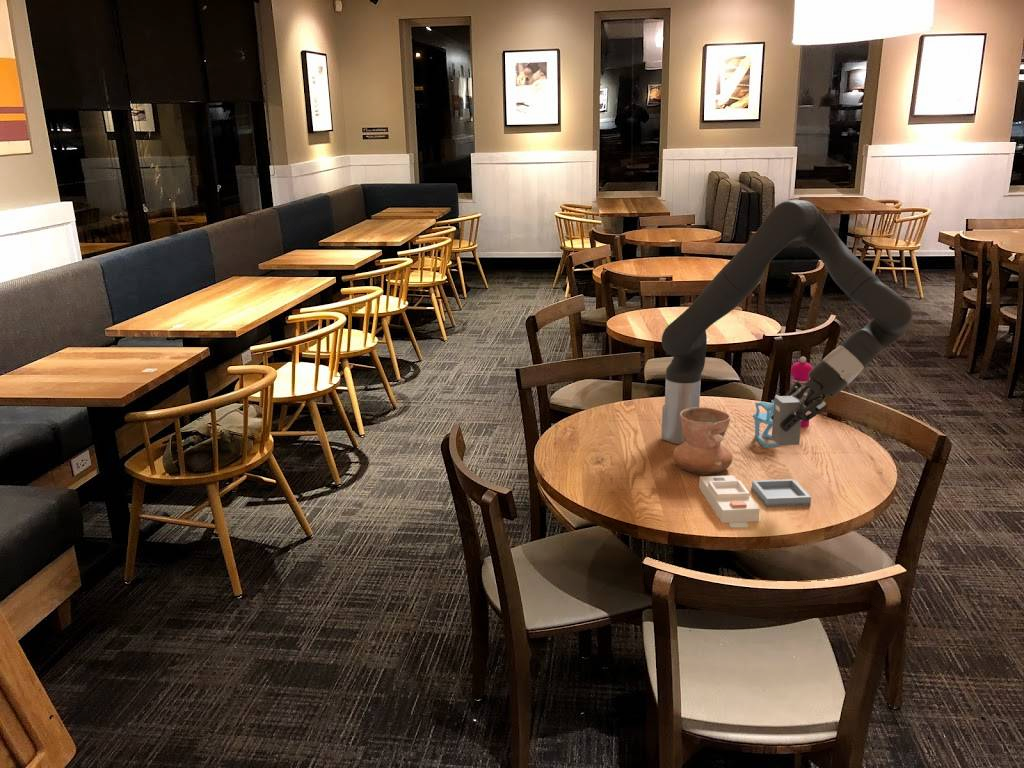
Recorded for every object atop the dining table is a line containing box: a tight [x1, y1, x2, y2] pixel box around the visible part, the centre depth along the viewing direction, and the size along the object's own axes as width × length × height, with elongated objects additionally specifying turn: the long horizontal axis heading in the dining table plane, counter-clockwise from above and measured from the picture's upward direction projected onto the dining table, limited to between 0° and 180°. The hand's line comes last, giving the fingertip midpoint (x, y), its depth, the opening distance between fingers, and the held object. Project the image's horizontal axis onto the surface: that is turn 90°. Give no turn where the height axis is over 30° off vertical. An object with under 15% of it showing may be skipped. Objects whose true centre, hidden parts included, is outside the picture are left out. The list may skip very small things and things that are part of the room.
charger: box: [771, 395, 802, 447], centre depth 182 cm, size 5×5×10 cm
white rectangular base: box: [698, 474, 761, 524], centre depth 183 cm, size 18×8×4 cm, turn 3°
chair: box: [752, 399, 783, 449], centre depth 219 cm, size 8×8×12 cm
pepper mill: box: [790, 356, 814, 429], centre depth 230 cm, size 7×7×20 cm
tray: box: [751, 478, 812, 508], centre depth 187 cm, size 10×10×2 cm
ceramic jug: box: [672, 406, 734, 475], centre depth 203 cm, size 18×14×14 cm
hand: (778, 424), depth 182 cm, fingers closed on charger, 4 cm apart
